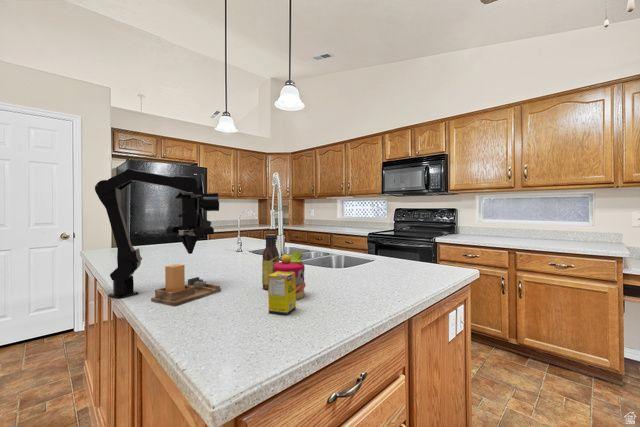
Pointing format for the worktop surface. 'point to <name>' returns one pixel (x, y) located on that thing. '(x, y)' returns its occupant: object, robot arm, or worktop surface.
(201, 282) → the bolt
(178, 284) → the block
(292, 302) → the supplement box
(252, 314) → the worktop surface
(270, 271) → the sauce bottle
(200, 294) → the housing
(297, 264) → the cake
